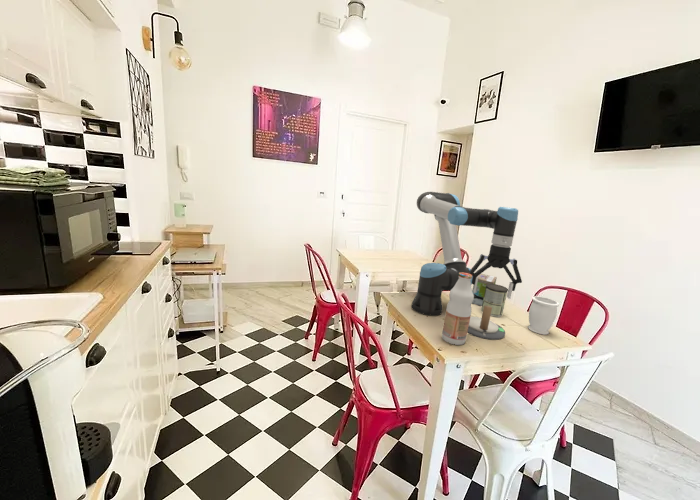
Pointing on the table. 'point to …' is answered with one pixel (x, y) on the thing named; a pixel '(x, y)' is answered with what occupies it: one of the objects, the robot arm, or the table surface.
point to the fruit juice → (458, 311)
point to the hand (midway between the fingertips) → (491, 294)
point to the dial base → (488, 334)
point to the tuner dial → (484, 322)
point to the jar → (542, 314)
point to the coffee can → (495, 298)
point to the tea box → (482, 287)
